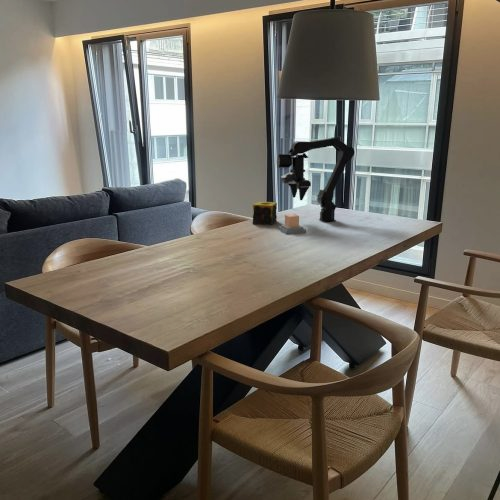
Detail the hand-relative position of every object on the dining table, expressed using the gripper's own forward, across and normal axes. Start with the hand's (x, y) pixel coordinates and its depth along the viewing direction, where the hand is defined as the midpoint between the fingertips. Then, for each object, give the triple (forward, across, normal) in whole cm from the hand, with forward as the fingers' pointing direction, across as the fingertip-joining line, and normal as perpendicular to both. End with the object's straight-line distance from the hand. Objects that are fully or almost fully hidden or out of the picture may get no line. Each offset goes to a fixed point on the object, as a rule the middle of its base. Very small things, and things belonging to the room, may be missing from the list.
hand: (297, 198), depth 246 cm
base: (+12, +18, -10) cm, 24 cm away
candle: (+12, -4, -16) cm, 21 cm away
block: (+9, +18, -10) cm, 22 cm away
